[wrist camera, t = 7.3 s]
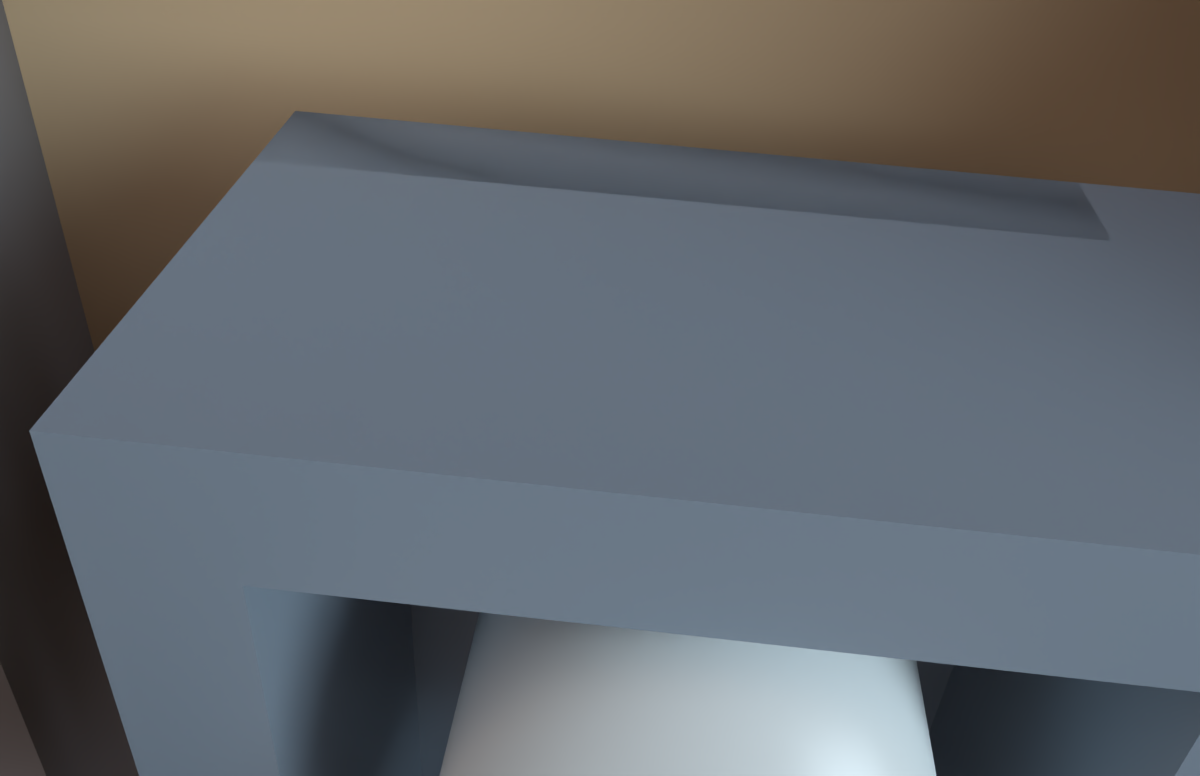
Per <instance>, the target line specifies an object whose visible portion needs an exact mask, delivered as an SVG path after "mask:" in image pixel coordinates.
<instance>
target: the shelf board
mask: <svg viewBox="0 0 1200 776" xmlns="http://www.w3.org/2000/svg"><path fill="white" fill-rule="evenodd" d="M295 111H302V112H313V113H324V114H335V115H346V116H357V117H368V118H379V119H390V120H400V121H411V122H422V123H433V124H444V125H455V126H466V127H477V128H488V129H499V130H509V131H520V132H531V133H542V134H553V135H564V136H575V137H586V138H597V139H608V140H618V141H629V142H640V143H651V144H662V145H673V146H684V147H695V148H706V149H717V150H727V151H738V152H749V153H760V154H771V155H782V156H793V157H804V158H815V159H826V160H837V161H847V162H858V163H869V164H880V165H891V166H902V167H913V168H924V169H935V170H946V171H956V172H967V173H978V174H989V175H1000V176H1011V177H1022V178H1033V179H1044V180H1055V181H1065V182H1076V183H1087V184H1098V185H1109V186H1120V187H1131V188H1142V189H1153V190H1164V191H1174V192H1185V193H1196V194H1200V0H0V776H139V774H138V771H137V768H136V765H135V761H134V758H133V755H132V752H131V749H130V746H129V743H128V740H127V736H126V733H125V730H124V727H123V724H122V721H121V718H120V714H119V711H118V708H117V705H116V702H115V699H114V696H113V692H112V689H111V686H110V683H109V680H108V677H107V674H106V670H105V667H104V664H103V661H102V658H101V655H100V652H99V648H98V645H97V642H96V639H95V636H94V633H93V630H92V627H91V623H90V620H89V617H88V614H87V611H86V608H85V605H84V601H83V598H82V595H81V592H80V589H79V586H78V583H77V579H76V576H75V573H74V570H73V567H72V564H71V561H70V557H69V554H68V551H67V548H66V545H65V542H64V539H63V535H62V532H61V529H60V526H59V523H58V520H57V517H56V514H55V510H54V507H53V504H52V501H51V498H50V495H49V492H48V488H47V485H46V482H45V479H44V476H43V473H42V470H41V466H40V463H39V460H38V457H37V454H36V451H35V448H34V444H33V441H32V438H31V435H30V432H29V430H30V429H31V428H32V427H33V426H34V424H35V423H36V422H37V421H38V420H39V418H40V417H41V416H42V415H43V414H44V412H45V411H46V410H47V409H48V408H49V406H50V405H51V404H52V403H53V402H54V400H55V399H56V398H57V397H58V396H59V394H60V393H61V392H62V391H63V390H64V388H65V387H66V386H67V385H68V384H69V382H70V381H71V380H72V379H73V378H74V376H75V375H76V374H77V373H78V372H79V370H80V369H81V368H82V367H83V366H84V364H85V363H86V362H87V361H88V360H89V358H90V357H91V356H92V355H93V354H94V352H95V351H96V350H97V349H98V348H99V346H100V345H101V344H102V343H103V342H104V340H105V339H106V338H107V337H108V335H109V334H110V333H111V332H112V331H113V329H114V328H115V327H116V326H117V325H118V323H119V322H120V321H121V320H122V319H123V317H124V316H125V315H126V314H127V313H128V311H129V310H130V309H131V308H132V307H133V305H134V304H135V303H136V302H137V301H138V299H139V298H140V297H141V296H142V295H143V293H144V292H145V291H146V290H147V289H148V287H149V286H150V285H151V284H152V283H153V281H154V280H155V279H156V278H157V277H158V275H159V274H160V273H161V272H162V271H163V269H164V268H165V267H166V266H167V265H168V263H169V262H170V261H171V260H172V259H173V257H174V256H175V255H176V254H177V253H178V251H179V250H180V249H181V248H182V247H183V245H184V244H185V243H186V242H187V241H188V239H189V238H190V237H191V236H192V235H193V233H194V232H195V231H196V230H197V229H198V227H199V226H200V225H201V224H202V223H203V221H204V220H205V219H206V218H207V216H208V215H209V214H210V213H211V212H212V210H213V209H214V208H215V207H216V206H217V204H218V203H219V202H220V201H221V200H222V198H223V197H224V196H225V195H226V194H227V192H228V191H229V190H230V189H231V188H232V186H233V185H234V184H235V183H236V182H237V180H238V179H239V178H240V177H241V176H242V174H243V173H244V172H245V171H246V170H247V168H248V167H249V166H250V165H251V164H252V162H253V161H254V160H255V159H256V158H257V156H258V155H259V154H260V153H261V152H262V150H263V149H264V148H265V147H266V146H267V144H268V143H269V142H270V141H271V140H272V138H273V137H274V136H275V135H276V134H277V132H278V131H279V130H280V129H281V128H282V126H283V125H284V124H285V123H286V122H287V120H288V119H289V118H290V117H291V116H292V114H293V113H294V112H295Z"/></svg>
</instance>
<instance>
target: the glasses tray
mask: <svg viewBox="0 0 1200 776" xmlns="http://www.w3.org/2000/svg"><path fill="white" fill-rule="evenodd" d="M29 432H30V435H31V438H32V441H33V444H34V448H35V451H36V454H37V457H38V460H39V463H40V466H41V470H42V473H43V476H44V479H45V482H46V485H47V488H48V492H49V495H50V498H51V501H52V504H53V507H54V510H55V514H56V517H57V520H58V523H59V526H60V529H61V532H62V535H63V539H64V542H65V545H66V548H67V551H68V554H69V557H70V561H71V564H72V567H73V570H74V573H75V576H76V579H77V583H78V586H79V589H80V592H81V595H82V598H83V601H84V605H85V608H86V611H87V614H88V617H89V620H90V623H91V627H92V630H93V633H94V636H95V639H96V642H97V645H98V648H99V652H100V655H101V658H102V661H103V664H104V667H105V670H106V674H107V677H108V680H109V683H110V686H111V689H112V692H113V696H114V699H115V702H116V705H117V708H118V711H119V714H120V718H121V721H122V724H123V727H124V730H125V733H126V736H127V740H128V743H129V746H130V749H131V752H132V755H133V758H134V761H135V765H136V768H137V771H138V774H139V776H1200V194H1196V193H1185V192H1174V191H1164V190H1153V189H1142V188H1131V187H1120V186H1109V185H1098V184H1087V183H1076V182H1065V181H1055V180H1044V179H1033V178H1022V177H1011V176H1000V175H989V174H978V173H967V172H956V171H946V170H935V169H924V168H913V167H902V166H891V165H880V164H869V163H858V162H847V161H837V160H826V159H815V158H804V157H793V156H782V155H771V154H760V153H749V152H738V151H727V150H717V149H706V148H695V147H684V146H673V145H662V144H651V143H640V142H629V141H618V140H608V139H597V138H586V137H575V136H564V135H553V134H542V133H531V132H520V131H509V130H499V129H488V128H477V127H466V126H455V125H444V124H433V123H422V122H411V121H400V120H390V119H379V118H368V117H357V116H346V115H335V114H324V113H313V112H302V111H295V112H294V113H293V114H292V116H291V117H290V118H289V119H288V120H287V122H286V123H285V124H284V125H283V126H282V128H281V129H280V130H279V131H278V132H277V134H276V135H275V136H274V137H273V138H272V140H271V141H270V142H269V143H268V144H267V146H266V147H265V148H264V149H263V150H262V152H261V153H260V154H259V155H258V156H257V158H256V159H255V160H254V161H253V162H252V164H251V165H250V166H249V167H248V168H247V170H246V171H245V172H244V173H243V174H242V176H241V177H240V178H239V179H238V180H237V182H236V183H235V184H234V185H233V186H232V188H231V189H230V190H229V191H228V192H227V194H226V195H225V196H224V197H223V198H222V200H221V201H220V202H219V203H218V204H217V206H216V207H215V208H214V209H213V210H212V212H211V213H210V214H209V215H208V216H207V218H206V219H205V220H204V221H203V223H202V224H201V225H200V226H199V227H198V229H197V230H196V231H195V232H194V233H193V235H192V236H191V237H190V238H189V239H188V241H187V242H186V243H185V244H184V245H183V247H182V248H181V249H180V250H179V251H178V253H177V254H176V255H175V256H174V257H173V259H172V260H171V261H170V262H169V263H168V265H167V266H166V267H165V268H164V269H163V271H162V272H161V273H160V274H159V275H158V277H157V278H156V279H155V280H154V281H153V283H152V284H151V285H150V286H149V287H148V289H147V290H146V291H145V292H144V293H143V295H142V296H141V297H140V298H139V299H138V301H137V302H136V303H135V304H134V305H133V307H132V308H131V309H130V310H129V311H128V313H127V314H126V315H125V316H124V317H123V319H122V320H121V321H120V322H119V323H118V325H117V326H116V327H115V328H114V329H113V331H112V332H111V333H110V334H109V335H108V337H107V338H106V339H105V340H104V342H103V343H102V344H101V345H100V346H99V348H98V349H97V350H96V351H95V352H94V354H93V355H92V356H91V357H90V358H89V360H88V361H87V362H86V363H85V364H84V366H83V367H82V368H81V369H80V370H79V372H78V373H77V374H76V375H75V376H74V378H73V379H72V380H71V381H70V382H69V384H68V385H67V386H66V387H65V388H64V390H63V391H62V392H61V393H60V394H59V396H58V397H57V398H56V399H55V400H54V402H53V403H52V404H51V405H50V406H49V408H48V409H47V410H46V411H45V412H44V414H43V415H42V416H41V417H40V418H39V420H38V421H37V422H36V423H35V424H34V426H33V427H32V428H31V429H30V430H29Z"/></svg>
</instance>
